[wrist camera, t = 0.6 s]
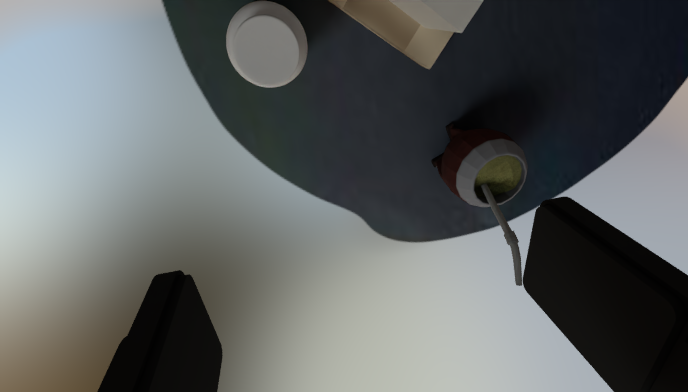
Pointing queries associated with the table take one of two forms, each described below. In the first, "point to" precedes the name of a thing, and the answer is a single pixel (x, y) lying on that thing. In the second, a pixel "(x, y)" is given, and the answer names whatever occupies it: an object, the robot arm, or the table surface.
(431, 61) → the socket board
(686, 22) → the table surface
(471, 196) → the mate gourd
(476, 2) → the light gray cube
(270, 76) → the supplement bottle
